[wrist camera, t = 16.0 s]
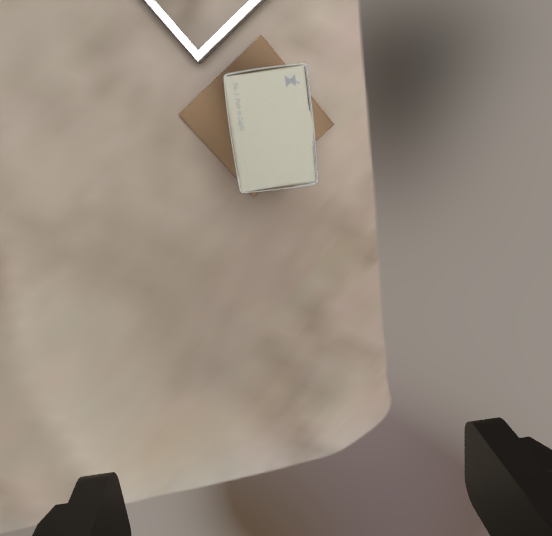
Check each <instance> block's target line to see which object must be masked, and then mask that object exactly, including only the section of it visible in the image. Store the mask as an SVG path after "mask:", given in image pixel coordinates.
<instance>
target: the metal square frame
mask: <svg viewBox="0 0 552 536" xmlns="http://www.w3.org/2000/svg"><path fill="white" fill-rule="evenodd" d="M145 1H146V3H147V4H148V5H149V6H150V7H151V8H152V9H153V11H154V12H155V13H156V14H157V15H158V16H159V18H160V19H161V20H162V21H163V22H164V23H165V24H166V26H167V27H168V28H169V29H170V30H171V31H172V32H173V34H174V35H175V36H176V37H177V38H178V39H179V41H180V42H181V43H182V44H183V45H184V46H185V47H186V49H187V50H188V51H189V52H190V53H191V54H192V56H193V57H194V58H195V59H196V60H197V61H198V62H199V64H200V63H201V62H202V61H203V60H204V59H205V58H206V57H207V56H208V55H209V54H210V53H211V52H212V51H213V50H214V49H215V48H217V47H218V46H219V45H220V44H221V43H222V42H223V41H224V40H225V39H226V38H227V37H228V36H229V35H230V34H231V33H232V32H233V31H234V30H235V29H236V28H237V27H238V26H239V25H240V24H241V23H242V22H243V21H244V20H245V19H246V18H247V17H248V16H249V15H250V14H251V13H253V12H254V11H255V10H256V9H257V8H258V7H259V6H260V5H261V4H262V3H263V2H264V1H265V0H249V1H248V2H247V3H246V4H245V5H244V6H243V7H242V8H241V9H240V10H239V11H238V12H237V13H236V14H235V15H234V16H233V17H232V18H231V19H230V20H229V21H228V22H226V23H225V24H224V25H223V26H222V27H221V28H220V29H219V30H218V31H217V32H216V33H215V34H214V35H213V36H212V37H211V38H210V39H209V40H208V41H207V42H206V43H205V44H204V45H203V46H202V47H201V48H200V49H199V50H197V49H196V47H195V46H194V45H193V44H192V43H191V42H190V40H189V39H188V38H187V37H186V36H185V35H184V34H183V32H182V31H181V30H180V29H179V28H178V27H177V25H176V24H175V23H174V22H173V21H172V20H171V18H170V17H169V16H168V15H167V14H166V13H165V11H164V10H163V9H162V8H161V7H160V6H159V5H158V3H157V2H156V1H155V0H145Z"/></svg>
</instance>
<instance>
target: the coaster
mask: <svg viewBox="0 0 552 536" xmlns="http://www.w3.org/2000/svg"><path fill="white" fill-rule="evenodd" d="M278 65H286V64H285V63H284V62H283V61H282V60H281V58H280V57H279V56H278V55H277V53H276V52H275V51H274V50H273V48H272V47H271V46H270V45H269V44H268V42H267V41H266V40H265V39H264V37H263V36H262V35H261V36H260V37H259V38H258V39H257V40H256V41H254V42H253V43H252V44H251V45H250V46H249V47H248V48H247V49H246V50H245V51H244V52H243V53H242V54H241V55H240V56H239V57H238V58H237V59H236V60H235V61H234V62H233V63H232V64H231V65H230V66H228V67H227V68H226V69H225V70H224V71H223V72H222V73H221V74H220V75H219V76H218V77H217V78H216V79H215V80H214V81H213V82H212V83H211V84H210V85H209V86H208V87H207V88H206V89H205V90H203V91H202V92H201V93H200V94H199V95H198V96H197V97H196V98H195V99H194V100H193V101H192V102H191V103H190V104H189V105H188V106H187V107H186V108H185V109H184V110H183V111H182V112H181V113H180V114H179V116H180V117H181V118H182V119H183V120H184V121H185V122H186V123H187V125H188V126H189V127H190V128H191V129H192V130H193V131H194V132H195V133H196V134H197V136H198V137H199V138H200V139H201V140H202V141H203V142H204V143H205V144H206V145H207V146H208V148H209V149H210V150H211V151H212V152H213V153H214V154H215V155H216V156H217V157H218V159H219V160H220V161H221V162H222V163H223V164H224V165H225V166H226V167H227V168H228V169H229V171H230V172H231V173H232V174H233V175H234V176H235V177H236V178H237V174H236V168H235V162H234V156H233V150H232V144H231V137H230V131H229V123H228V116H227V109H226V100H225V91H224V80H223V77H224V75H225V74H226V73H231V72H237V71H243V70H249V69H255V68H263V67H270V66H278ZM311 101H312V111H313V120H314V129H315V141H316V140H317V139H318V138H319V137H320V136H322V135H323V134H324V133H325V132H326V131H327V130H328V129H329V128H330V127H332V126H333V125H334V123H333V122H332V121H331V120H330V119H329V117H328V116H327V115H326V114H325V112H324V111H323V110H322V109H321V107H320V106H319V105H318V104H317V103H316V101H315V100H314V99H313V98H312V96H311ZM257 193H258V192H251V193H250V194H251V195H252V196H253V197H254V196H255V195H256V194H257Z"/></svg>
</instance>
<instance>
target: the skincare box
mask: <svg viewBox="0 0 552 536" xmlns="http://www.w3.org/2000/svg"><path fill="white" fill-rule="evenodd" d="M223 80H224V91H225V100H226V109H227V116H228V123H229V131H230V137H231V144H232V150H233V156H234V162H235V168H236V174H237V180H238V185H239V191H240V193H251V192H261V191H271V190H279V189H288V188H296V187H303V186H310V185H315V184H317V182H318V168H317V155H316V141H315V129H314V120H313V111H312V101H311V92H310V84H309V77H308V66H307V64H306V63H297V64H287V65H278V66H270V67H263V68H255V69H249V70H243V71H237V72H231V73H226V74H225V75H224V77H223Z"/></svg>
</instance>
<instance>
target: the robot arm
mask: <svg viewBox="0 0 552 536" xmlns="http://www.w3.org/2000/svg"><path fill="white" fill-rule="evenodd" d="M465 483H466V488H467V492H468V495H469V498H470V501H471V503H472V505H473V507H474V509H475V511H476V512H477V514H478V516H479V517H480V519H481V521H482V522H483V524H484V526H485V528H486V529H487V530H488V533H489V534H490V536H552V450H551V449H549V448H548V447H546V446H544V445H543V444H541V443H539V442H538V441H536V440H534V439H532V438H531V437H524V438H519V437H518V436H517V435H516V434H515V433H514V431H513V430H512V429H511V428H510V427H509V425H508V424H507V423H506V422H505V421H504V420H503V419H502V418H492V419H485V420H478V421H471V422H467V423H466V425H465ZM32 536H131V528H130V523H129V519H128V515H127V511H126V507H125V503H124V499H123V495H122V491H121V487H120V483H119V479H118V477H117V475H116V473H114V472H112V473H105V474H98V475H91V476H84V477H80V478H79V479H78V481H77V483H76V485H75V488H74V490H73V492H72V495H71V497H70V500H69V502H68V503H66V504H59V505H55V506H54V507H53V508H52V509H51V511H50V512H49V513H48V514H47V515H46V516H45V517H44V518H43V519H42V520H41V521H40V522H39V524H38V525H37V527H36V529H35V531H34V533H33V535H32Z"/></svg>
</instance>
